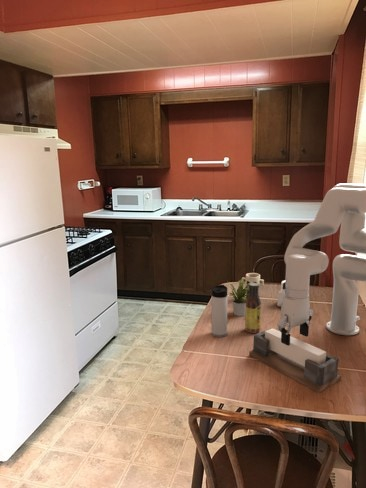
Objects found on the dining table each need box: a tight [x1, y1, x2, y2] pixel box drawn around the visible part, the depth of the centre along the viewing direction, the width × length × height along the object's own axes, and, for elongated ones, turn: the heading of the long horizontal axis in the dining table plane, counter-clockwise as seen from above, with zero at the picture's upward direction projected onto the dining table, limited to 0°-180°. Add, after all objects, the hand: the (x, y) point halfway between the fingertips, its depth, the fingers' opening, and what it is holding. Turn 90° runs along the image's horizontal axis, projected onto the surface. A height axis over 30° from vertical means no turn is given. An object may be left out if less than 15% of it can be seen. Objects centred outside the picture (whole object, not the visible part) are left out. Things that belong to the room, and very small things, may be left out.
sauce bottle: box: [244, 283, 262, 334], centre depth 160 cm, size 7×6×20 cm
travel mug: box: [210, 284, 229, 338], centre depth 157 cm, size 6×7×20 cm
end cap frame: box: [248, 328, 342, 394], centre depth 134 cm, size 12×29×8 cm, turn 37°
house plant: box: [227, 279, 253, 317], centre depth 176 cm, size 14×14×16 cm
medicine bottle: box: [277, 279, 286, 308], centre depth 187 cm, size 7×7×12 cm
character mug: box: [241, 272, 265, 298], centre depth 194 cm, size 11×7×13 cm, turn 68°
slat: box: [264, 328, 327, 367], centre depth 133 cm, size 22×4×6 cm, turn 37°
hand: (294, 339), depth 133 cm, fingers open, 9 cm apart
